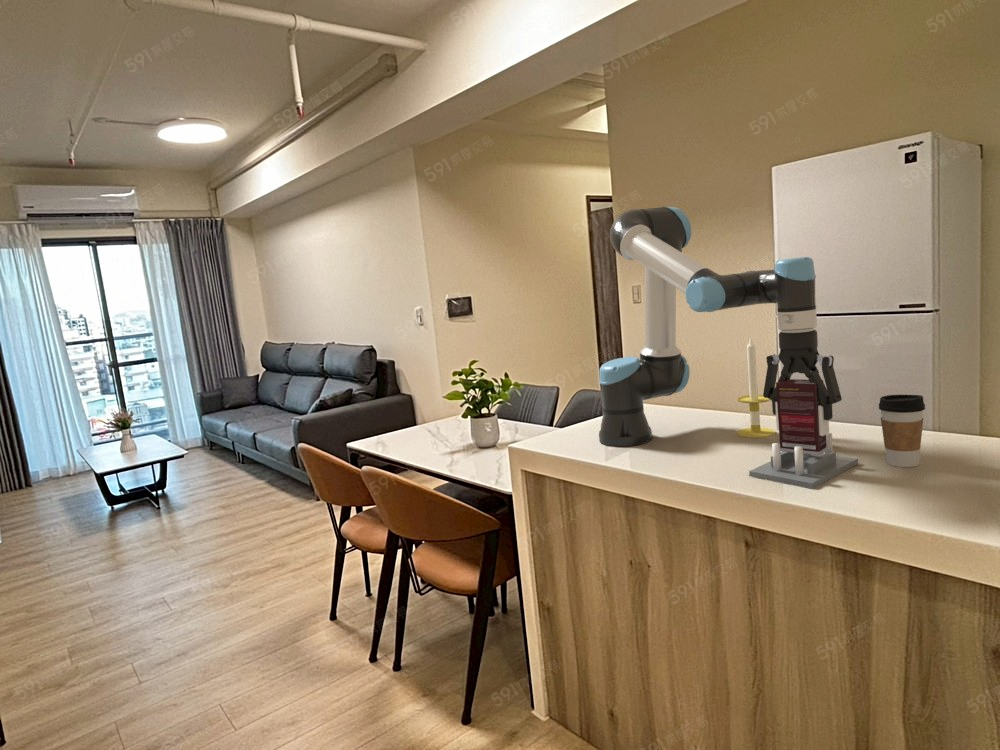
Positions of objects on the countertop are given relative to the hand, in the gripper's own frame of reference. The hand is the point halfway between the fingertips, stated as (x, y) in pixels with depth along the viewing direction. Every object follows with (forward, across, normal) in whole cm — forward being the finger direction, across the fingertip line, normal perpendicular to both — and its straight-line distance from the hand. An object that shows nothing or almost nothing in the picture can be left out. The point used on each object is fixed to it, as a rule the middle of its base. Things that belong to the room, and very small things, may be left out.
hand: (802, 431), depth 135 cm
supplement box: (+5, 0, 0) cm, 5 cm away
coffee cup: (+9, +14, +15) cm, 22 cm away
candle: (+9, -25, +22) cm, 35 cm away
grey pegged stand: (+9, 0, 0) cm, 9 cm away
